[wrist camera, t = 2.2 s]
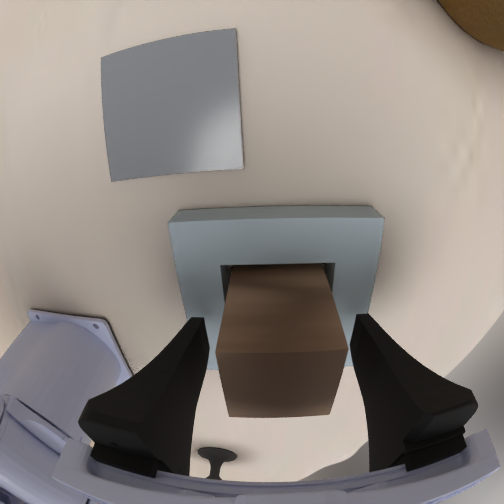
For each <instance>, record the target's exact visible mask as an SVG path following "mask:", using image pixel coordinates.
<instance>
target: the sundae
mask: <svg viewBox="0 0 504 504" xmlns="http://www.w3.org/2000/svg"><path fill="white" fill-rule="evenodd" d="M198 454H199V455H200V456H201V457H203V458H206V459H208V460H209V462H210V465H211V470H210V475H209V476H208V477H207V478H206V479H215V480H222V479H221V478H220V477H219V473H220V467H221V465H222V464H223V462H229V461H233V460H235V459H236V458H237V455H236V454H234V453H233V452H231V451H228V450H225V449H220V448H202V449H199V450H198ZM215 497H217V496H215Z"/></svg>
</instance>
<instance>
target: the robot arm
mask: <svg viewBox="0 0 504 504" xmlns="http://www.w3.org/2000/svg"><path fill="white" fill-rule="evenodd" d="M28 316H29V318H30V320H31V321H30V322H29V323H28V325H27V326H26V327H25V328H24V329H23V331H22V332H21V333H20V334H19V336H18V337H17V338H16V339H15V340H14V342H13V343H12V344H11V346H10V347H9V348H8V349H7V351H6V352H5V353H4V355H3V356H2V357H1V359H0V504H97V502H98V503H100V504H437V503H439V502H441V501H444V500H446V499H448V498H450V497H452V496H455V495H456V494H459V493H461V492H462V491H465V490H467V489H468V488H471V487H472V486H474V485H475V484H477V483H479V482H480V481H482V480H483V479H485V478H486V477H488V476H489V475H491V474H492V473H494V472H495V471H496V470H498V469H499V468H500V467H501V466H500V463H499V460H498V457H497V454H496V451H495V448H494V446H493V443H492V440H491V438H490V435H489V433H488V430H487V429H486V428H485V429H483V430H481V431H478V432H477V433H474V434H472V435H470V436H468V437H467V438H465V439H464V437H463V434H464V433H465V428H464V425H465V424H466V423H467V421H468V420H469V419H470V418H471V417H472V416H473V415H474V413H475V412H476V410H477V408H478V403H477V401H476V399H475V397H474V395H473V393H472V391H471V390H470V389H467V388H465V387H462V386H460V385H457V384H455V383H453V382H451V381H449V380H447V379H445V378H443V377H441V376H439V375H438V374H436V373H434V372H433V371H431V370H430V369H428V368H427V367H425V366H424V365H422V364H421V363H420V362H418V361H417V360H416V359H414V358H413V357H412V356H411V355H409V354H408V353H407V352H406V351H405V350H404V349H403V348H401V347H400V346H399V345H398V344H397V343H396V342H395V341H394V340H393V339H392V338H391V337H390V336H389V335H388V334H387V333H386V332H385V331H384V330H383V329H382V328H381V327H380V325H379V324H378V323H377V322H376V321H375V320H374V319H373V318H372V317H371V316H370V315H369V314H368V313H367V314H356V318H355V323H354V327H353V332H352V336H351V340H350V344H349V345H350V352H351V358H352V363H353V367H354V370H355V373H356V377H357V380H358V383H359V387H360V390H361V394H362V397H363V401H364V406H365V412H366V420H367V428H368V439H369V464H370V466H369V468H370V469H369V471H370V472H369V473H364V474H358V475H353V476H347V477H339V478H331V479H324V480H312V481H298V482H239V481H225V480H215V479H206V478H198V477H191V476H189V471H190V454H191V443H192V434H193V426H194V419H195V412H196V407H197V402H198V398H199V395H200V391H201V388H202V384H203V380H204V377H205V373H206V369H207V365H208V358H209V351H210V345H209V341H208V336H207V331H206V326H205V321H204V317H191V318H190V319H189V320H188V321H187V323H186V324H185V325H184V326H183V328H182V329H181V330H180V331H179V332H178V334H177V335H176V336H175V337H174V338H173V339H172V340H171V342H170V343H169V344H168V345H167V346H166V347H165V348H164V349H163V350H162V351H161V352H160V353H159V354H158V355H157V356H156V357H155V358H154V359H153V360H152V361H151V362H150V363H149V364H148V365H146V366H145V367H144V368H143V369H142V370H140V371H139V372H138V373H136V374H135V375H133V376H132V374H131V372H130V370H129V368H128V366H127V364H126V362H125V360H124V358H123V356H122V354H121V352H120V349H119V347H118V345H117V343H116V341H115V339H114V336H113V334H112V332H111V330H110V327H109V325H108V323H107V322H106V321H105V320H103V319H97V318H88V317H80V316H72V315H65V314H58V313H51V312H45V311H39V310H33V309H30V310H29V311H28ZM115 386H116V387H115ZM91 440H93V441H94V442H95V444H94V447H93V448H92V447H91V446H89V445H90V443H91ZM350 492H351V493H350ZM215 496H217V497H215Z"/></svg>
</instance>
